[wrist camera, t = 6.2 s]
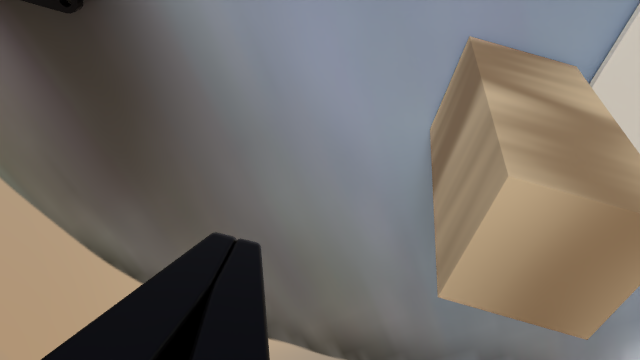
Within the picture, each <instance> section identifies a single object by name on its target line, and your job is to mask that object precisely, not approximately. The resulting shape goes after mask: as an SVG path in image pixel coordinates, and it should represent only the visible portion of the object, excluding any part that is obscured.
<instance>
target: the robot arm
mask: <svg viewBox="0 0 640 360" xmlns="http://www.w3.org/2000/svg"><path fill="white" fill-rule="evenodd" d="M22 1H26V2H29V3H33V4H36V5H40V6H43V7H47V8H50V9H54V10H57V11H61V12H65V13H73V12H75V11H77V10H80V9H81V8H82V6H83V0H71V2H72V3H71V4H70V3H69V2H68V1H67V0H22ZM41 360H270V358H269V345H268V332H267V319H266V306H265V294H264V281H263V268H262V255H261V246H260V244H259V243H257V242H253V241H249V240H245V239H238V240H236V238H235V237H233V236H229V235H225V234H221V233H212V234H210V235H209V236H208V237H206V238H205V239H204V240H202V241H201V242H200V243H198V244H197V245H195V246H194V247H193V248H191V249H190V250H189V251H187V252H186V253H185V254H183V255H182V256H181V257H179V258H178V259H176V260H175V261H174V262H172V263H171V264H170V265H168V266H167V267H166V268H164V269H163V270H162V271H160V272H159V273H158V274H156V275H155V276H153V277H152V278H151V279H149V280H148V281H147V282H145V283H144V284H143V285H141V286H140V287H139V288H137V289H136V290H135V291H133V292H132V293H131V294H129V295H128V296H126V297H125V298H124V299H122V300H121V301H120V302H118V303H117V304H116V305H114V306H113V307H112V308H110V309H109V310H107V311H106V312H105V313H103V314H102V315H101V316H99V317H98V318H97V319H95V320H94V321H92V322H91V323H90V324H88V325H87V326H86V327H84V328H83V329H82V330H80V331H79V332H78V333H76V334H75V335H73V336H72V337H71V338H69V339H68V340H67V341H65V342H64V343H63V344H61V345H60V346H59V347H57V348H56V349H55V350H53V351H52V352H50V353H49V354H48V355H46V356H45V357H44V358H42V359H41Z"/></svg>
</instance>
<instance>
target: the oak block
mask: <svg viewBox="0 0 640 360" xmlns="http://www.w3.org/2000/svg"><path fill="white" fill-rule="evenodd" d="M430 138H431V160H432V181H433V203H434V225H435V246H436V268H437V289H438V297H439V298H443V299H446V300H450V301H453V302H457V303H460V304H464V305H467V306H471V307H474V308H478V309H481V310H485V311H488V312H492V313H495V314H499V315H502V316H506V317H509V318H513V319H516V320H520V321H523V322H527V323H530V324H534V325H537V326H541V327H544V328H548V329H551V330H555V331H558V332H562V333H565V334H569V335H572V336H576V337H579V338H583V339H586V340H588V339H589V338H590V337H591V335H592V334H593V333H594V332H595V331H596V330H597V329H598V328H599V327H600V326H601V325H602V324H603V323H604V322H605V321H606V320H607V319H608V318H609V317H610V316H611V315H612V314H613V313H614V312H615V311H616V310H617V308H618V307H619V306H620V305H621V304H622V303H623V302H624V301H625V300H626V299H627V298H628V297H629V296H630V295H631V294H632V293H633V292H634V291H635V290H636V289H637V288H638V287H639V286H640V154H639V152H638V151H637V150H636V148H635V147H634V145H633V144H632V143H631V141H630V140H629V139H628V137H627V136H626V134H625V133H624V132H623V130H622V129H621V128H620V126H619V125H618V123H617V122H616V121H615V119H614V118H613V117H612V115H611V114H610V112H609V111H608V110H607V108H606V107H605V106H604V104H603V103H602V101H601V100H600V99H599V97H598V96H597V95H596V93H595V92H594V90H593V89H592V88H591V86H590V85H589V83H588V82H587V81H586V79H585V78H584V77H583V75H582V74H581V72H580V71H579V70H578V68H577V67H576V66H572V65H569V64H565V63H562V62H558V61H555V60H551V59H548V58H544V57H541V56H537V55H534V54H530V53H527V52H523V51H520V50H516V49H513V48H509V47H506V46H502V45H498V44H495V43H491V42H488V41H484V40H481V39H477V38H474V37H469V39H468V41H467V44H466V46H465V48H464V51H463V53H462V55H461V58H460V60H459V62H458V65H457V67H456V69H455V72H454V74H453V77H452V79H451V81H450V84H449V86H448V88H447V91H446V93H445V95H444V98H443V100H442V102H441V105H440V107H439V109H438V112H437V114H436V116H435V119H434V121H433V124H432V126H431V128H430Z"/></svg>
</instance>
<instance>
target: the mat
mask: <svg viewBox="0 0 640 360" xmlns="http://www.w3.org/2000/svg"><path fill="white" fill-rule="evenodd" d="M589 85H590V86H591V88H592V89H593V90H594V92H595V93H596V95H597V96H598V97H599V99H600V100H601V101H602V103H603V104H604V106H605V107H606V108H607V110H608V111H609V112H610V114H611V115H612V117H613V118H614V119H615V121H616V122H617V123H618V125H619V126H620V128H621V129H622V130H623V132H624V133H625V134H626V136H627V137H628V139H629V140H630V141H631V143H632V144H633V145H634V147H635V148H636V150H637V151H638V152H639V154H640V4H639V5H638V7H637V8H636V10H635V12H634V13H633V15H632V16H631V18H630V20H629V21H628V23H627V24H626V26H625V28H624V29H623V31H622V33H621V34H620V36H619V37H618V39H617V41H616V42H615V44H614V45H613V47H612V49H611V50H610V52H609V53H608V55H607V57H606V58H605V60H604V61H603V63H602V65H601V66H600V68H599V70H598V71H597V73H596V74H595V76H594V78H593V79H592V81H591V82H590V84H589Z"/></svg>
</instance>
